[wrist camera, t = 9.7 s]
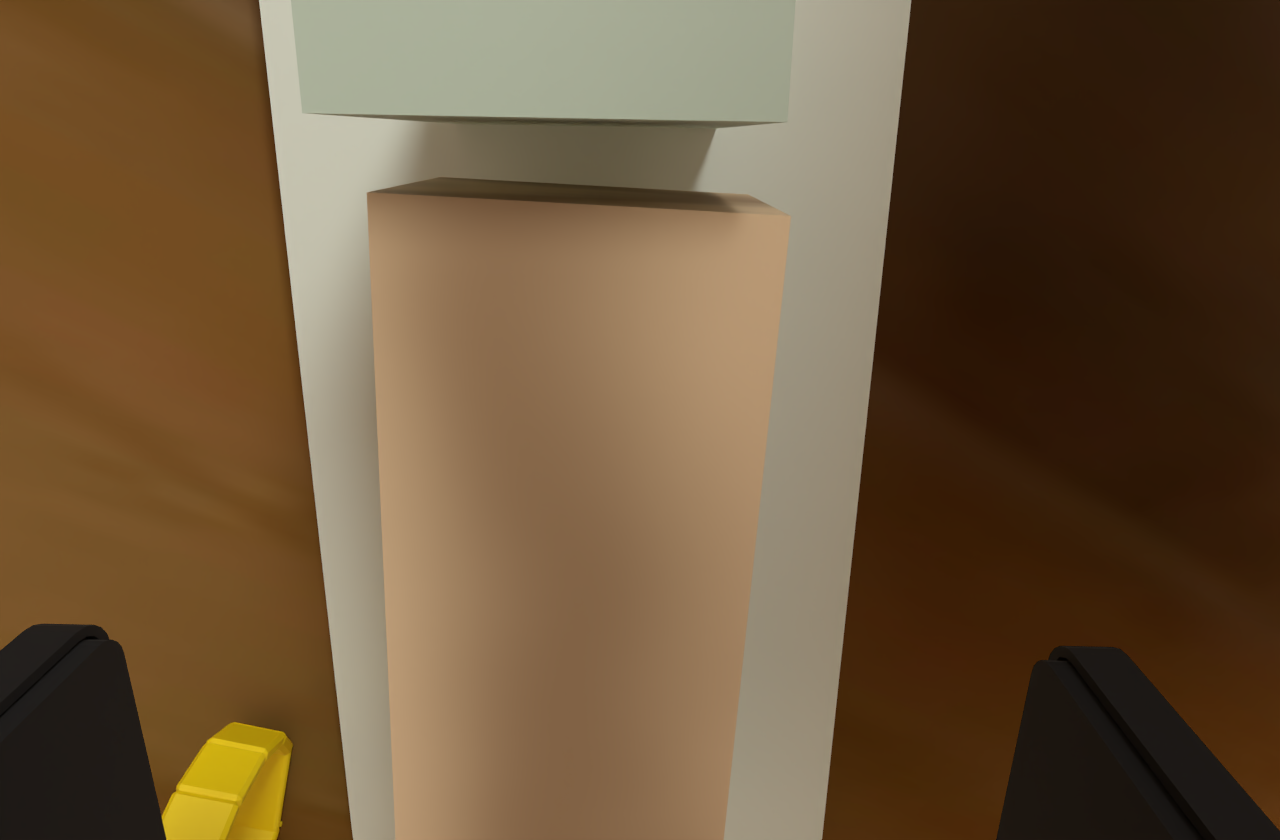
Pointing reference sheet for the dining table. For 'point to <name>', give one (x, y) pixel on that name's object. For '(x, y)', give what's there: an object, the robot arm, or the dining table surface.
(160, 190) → the dining table surface
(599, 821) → the tan wooden bar
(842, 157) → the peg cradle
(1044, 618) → the dining table surface
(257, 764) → the watch
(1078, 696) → the robot arm
